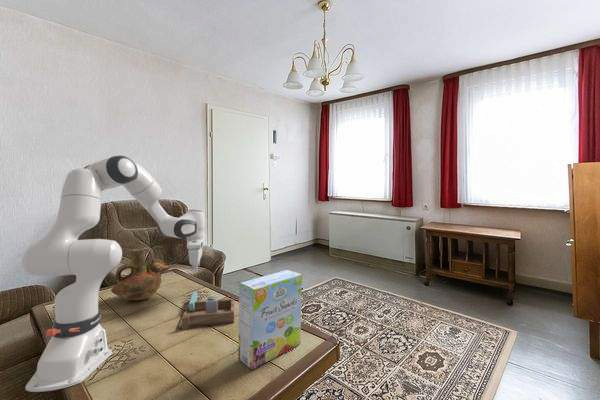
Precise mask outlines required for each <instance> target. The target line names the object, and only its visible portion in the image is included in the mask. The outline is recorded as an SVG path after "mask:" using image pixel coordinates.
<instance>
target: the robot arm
mask: <svg viewBox="0 0 600 400" xmlns="http://www.w3.org/2000/svg"><path fill="white" fill-rule="evenodd" d="M121 186H122V187H124V188H125V190H126V191H128V193H129V194H130V195H131V196H132V197H133V198H134V199H135V200H136V201H137V202H138V203H139V204H140V205H141V206H142V207H143V208H144V210H145V211H146V212H147V214H148V215H149V217H151V218H152V219H153V221H154V222H155V224H156V226H157V230H158V232H159V233H160V234H161V236H163V237H170V238H176V239H185V238H186V249H187V251H188V261H189V264H190V265H191V266H192V268H193V273H197V272H198V270H199V268H198V267H200V266H201V258H202V256H203V248H204V246H205V245H206V232H205V229H206V218H205V213H204V211H201V210H197V209H188V210H187V211H186V213H184V214H182V215H181V216H179V217H174V216H173V215H169V214H168V213H167V211H165V209H164V207H162V205H161V204H160V202H159V201H160V199H161V197H162V194H163V189H162V187H161V186H160V185H159V183H158V181H157V180H156V179H155V178H154V176H152V174H150V173H149V171H147V170H146V169H145V167H143V166H142V165H141V164H139V163H138V162H135V161H133V160H132V159H131V158H130V157H128V156H125V155H113V156H111V157H108V158H104V159H100V160H97V161H95V162H93V163H91V164H88V165H85V166H84V167H83V168H75V169H72V170H70V171H69V172H68V173H67V175H66V177H65V180H64V183H63V185H62V189H61V194H60V199H59V200H60V201H59V206H58V213H57V216H56V221H55V222H54V225H53V226H52V227H51V229H50V230H49V232H48V233H47V234H46V235H45V236H44V237H42V239H40V240H39V241H37V242H36V243H34V244H32V245H31V246H29V247H28V248H27V249H26V250H25V251H24V254H23V256H22V258H21V259H22V260H21V262H22V267H23V270H24V271H25V272H26V273H27V274H28V275H29V276H36V277H51V278H52V277H60V276H62V277H63V276H73V275H74V276H75V282H73V283H71V284H70V285H68V286H67V285H66V287H64V288H62V289H61V290H59V291H58V293H57V294H56V296H55V297H54V317H55V320H53V324H52V328H49V329H47V330H46V336H47V337H51V338H50V340H49V341H48V343H47V344H46V347H45V349H44V350H43V352H42V354H41V356H40V358H39V360H38V362H37V367H36V371H35V373H34V374H33V376H32V377H31V378H30V380H29V381H28V382H27V383H26V385H25V389H24V390H25V391H27V392H31V393H36V392H37V393H40V392H50V391H56V390H61V389H66V388H69V387H72V386H73V387H74V386H76V385H78V384H80V383H82V382H83V381H85V379H87V378H89V376H90V375H91V374H92V373H93V372H94V371H95V370H96V369H97V368H99V367H100V366H101V365H102V364H103V363H104V362H105V361H106V360H107V359H108V358H109V357H110V356H111V355H113V351H112V349H110V348H108V343H107V334H106V330H105V329H104V328H103V326H102V325H101V317H102V315H101V310H99V295H100V288H101V285H102V283H103V280H104V279H105V278H106V276H107V275H108V274H109V273H110V272H112V271H113V270H114V269H115V268H117V267H118V266H119V264H120V263H121V261H122V259H123V258H122V257H123V249H122V247H121V245H120V244H119V243H118V242H117V241H116V240H113V239H105V238H92V239H88V238H87V239H79V237H80V236H81V235H82V234H83V233H84V232H86V231H88V230H90V229H93V228H94V227H95V226H97V225H98V223H99V221H100V219H101V209H102V194H103V193H102V192H103V191H105V190H109V189H110V190H111V189H114V188H118V187H121ZM190 265H189V266H190Z"/></svg>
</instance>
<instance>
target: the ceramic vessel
mask: <svg viewBox="0 0 600 400" xmlns="http://www.w3.org/2000/svg"><path fill="white" fill-rule="evenodd" d="M146 263H147V262H146V251H145V249H138V248H136V249H134V248H133V249H131V250H130V262H129V263H125V264H122V265H121V266H119V267H118V268H117V269H116V271H115V280H116V283H117V284H115V286H113V287H112V288H111V289H110V291H111V293H112V294H113V295H115V296H118V297H120V298H121V299H124V300H129V301H135V302H137V301H138V302H140V301H143V300H145V299H149V298H150V297H151V296H153V295H155V293H156V292H157V291H158V290H159V288H160V287H161V283H162V274H163V273H166V272H167V271H168V270H170V269H171V265H167V264H166V263H165V262H164V261H163V260H162V259H160V258H159V259H158V258H157V259H153V260H152V261H151V262H150V263H149V266H148V268H147V264H146ZM128 269H129V270H130V273H128V274H127V275H125V276H122V272H123V271H125V270H128Z"/></svg>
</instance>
